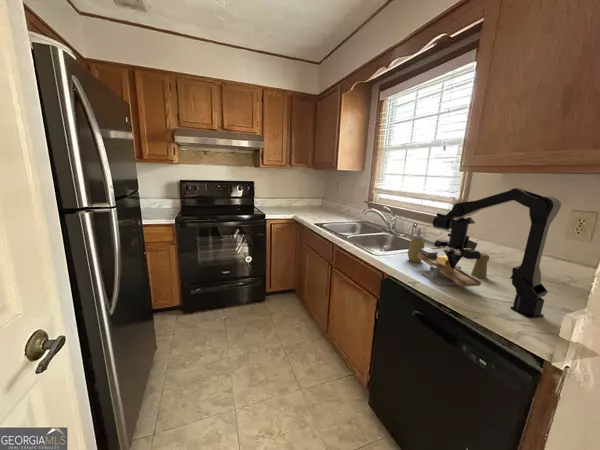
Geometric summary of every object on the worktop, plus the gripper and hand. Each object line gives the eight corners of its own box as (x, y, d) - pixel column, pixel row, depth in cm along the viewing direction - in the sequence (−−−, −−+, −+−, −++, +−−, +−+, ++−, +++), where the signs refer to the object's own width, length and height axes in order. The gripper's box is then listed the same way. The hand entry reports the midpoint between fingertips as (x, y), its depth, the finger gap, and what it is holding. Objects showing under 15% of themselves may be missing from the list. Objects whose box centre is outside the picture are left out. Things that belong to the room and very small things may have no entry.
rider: (453, 268, 111) (455, 260, 110) (443, 269, 110) (445, 260, 109) (444, 263, 116) (447, 255, 115) (435, 263, 115) (437, 255, 114)
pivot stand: (468, 283, 109) (471, 270, 108) (439, 285, 106) (441, 272, 105) (447, 272, 121) (449, 260, 119) (420, 274, 118) (422, 261, 116)
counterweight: (436, 258, 121) (437, 252, 120) (426, 258, 120) (428, 252, 119) (429, 253, 126) (430, 248, 125) (420, 254, 125) (421, 248, 124)
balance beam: (480, 285, 100) (481, 281, 100) (462, 286, 99) (463, 282, 98) (431, 256, 126) (432, 252, 126) (416, 256, 125) (417, 252, 124)
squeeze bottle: (425, 264, 131) (430, 230, 128) (408, 262, 132) (413, 229, 129) (420, 259, 139) (425, 227, 135) (405, 257, 140) (409, 226, 137)
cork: (489, 279, 115) (494, 256, 113) (474, 277, 116) (479, 254, 114) (482, 274, 121) (487, 252, 119) (468, 272, 122) (472, 251, 120)
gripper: (495, 238, 98) (487, 275, 101) (456, 227, 116) (451, 260, 119) (471, 238, 96) (464, 277, 99) (436, 227, 114) (430, 260, 117)
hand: (452, 268), depth 108 cm, fingers closed
